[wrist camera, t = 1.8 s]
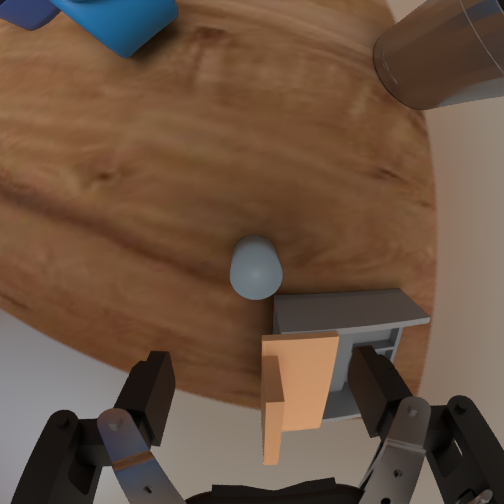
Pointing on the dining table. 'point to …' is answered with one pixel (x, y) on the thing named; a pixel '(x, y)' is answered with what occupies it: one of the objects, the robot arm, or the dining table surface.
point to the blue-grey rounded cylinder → (255, 268)
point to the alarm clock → (120, 20)
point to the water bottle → (28, 12)
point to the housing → (348, 331)
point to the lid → (294, 384)
